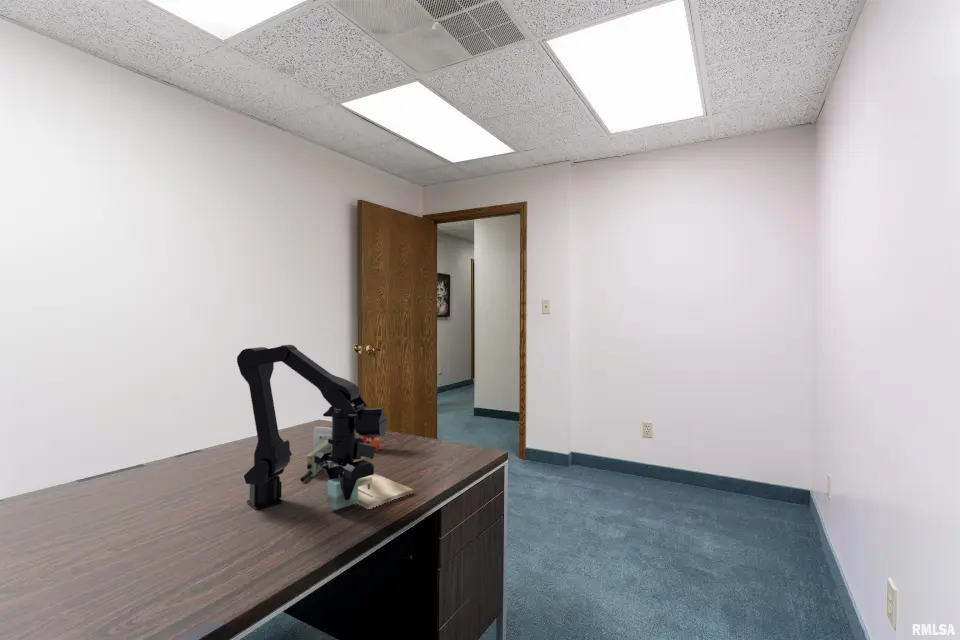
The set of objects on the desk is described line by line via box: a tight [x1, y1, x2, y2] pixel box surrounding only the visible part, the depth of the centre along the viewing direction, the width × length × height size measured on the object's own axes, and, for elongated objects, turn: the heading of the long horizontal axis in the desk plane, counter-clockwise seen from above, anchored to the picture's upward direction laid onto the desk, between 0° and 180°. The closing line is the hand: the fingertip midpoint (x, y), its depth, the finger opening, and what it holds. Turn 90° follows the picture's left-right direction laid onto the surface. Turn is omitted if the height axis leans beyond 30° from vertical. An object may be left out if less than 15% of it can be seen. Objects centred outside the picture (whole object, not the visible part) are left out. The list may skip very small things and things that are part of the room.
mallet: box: [327, 476, 372, 510], centre depth 113 cm, size 11×4×6 cm, turn 137°
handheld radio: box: [300, 440, 332, 483], centre depth 140 cm, size 7×3×25 cm
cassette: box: [313, 426, 332, 449], centre depth 161 cm, size 12×2×8 cm, turn 74°
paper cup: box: [361, 436, 381, 452], centre depth 160 cm, size 8×8×14 cm
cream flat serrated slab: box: [326, 472, 414, 510], centre depth 122 cm, size 14×20×1 cm
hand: (342, 497), depth 111 cm, fingers closed on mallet, 4 cm apart
